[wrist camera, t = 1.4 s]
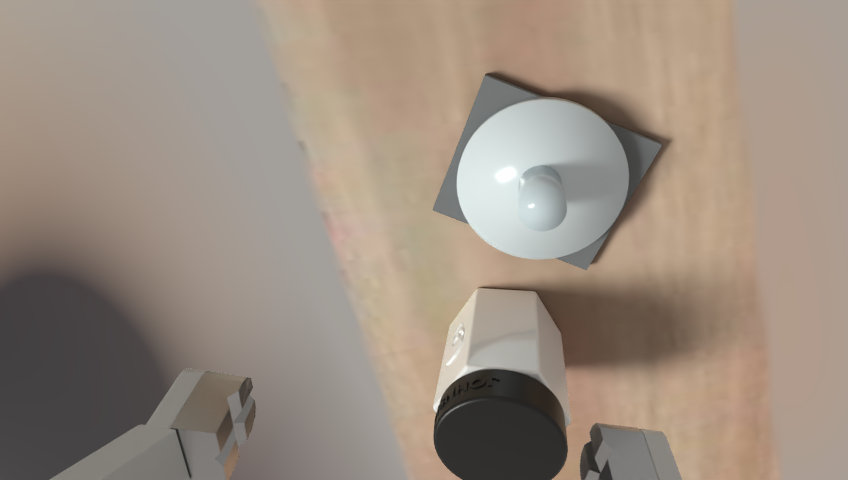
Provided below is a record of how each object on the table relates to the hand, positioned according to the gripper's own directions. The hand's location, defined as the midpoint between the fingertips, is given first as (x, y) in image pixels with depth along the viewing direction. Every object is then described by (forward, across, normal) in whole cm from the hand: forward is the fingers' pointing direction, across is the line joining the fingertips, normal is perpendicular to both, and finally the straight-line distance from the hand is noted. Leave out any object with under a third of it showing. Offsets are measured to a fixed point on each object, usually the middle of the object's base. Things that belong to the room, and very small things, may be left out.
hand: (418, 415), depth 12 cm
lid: (+24, +6, -4) cm, 25 cm away
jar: (+23, +6, -18) cm, 30 cm away
